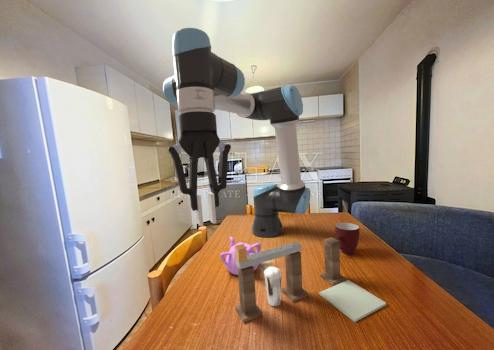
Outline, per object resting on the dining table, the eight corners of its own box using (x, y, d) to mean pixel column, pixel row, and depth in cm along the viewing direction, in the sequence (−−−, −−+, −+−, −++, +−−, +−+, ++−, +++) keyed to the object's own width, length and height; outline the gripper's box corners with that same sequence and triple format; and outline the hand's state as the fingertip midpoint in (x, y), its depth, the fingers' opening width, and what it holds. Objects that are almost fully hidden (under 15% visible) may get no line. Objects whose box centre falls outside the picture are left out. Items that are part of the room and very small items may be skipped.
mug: (349, 262, 73) (349, 233, 72) (327, 254, 79) (327, 228, 78) (363, 251, 80) (363, 225, 79) (342, 245, 86) (341, 221, 85)
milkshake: (261, 297, 58) (259, 262, 57) (280, 295, 59) (279, 260, 58) (264, 309, 54) (261, 271, 53) (285, 307, 54) (283, 269, 53)
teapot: (254, 281, 66) (253, 253, 65) (215, 274, 71) (213, 248, 70) (266, 261, 77) (264, 238, 76) (231, 257, 82) (229, 234, 81)
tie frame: (235, 309, 54) (232, 264, 53) (332, 272, 68) (331, 235, 67) (243, 322, 50) (240, 274, 49) (345, 280, 64) (344, 241, 62)
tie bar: (235, 264, 52) (234, 246, 52) (296, 247, 60) (295, 230, 59) (239, 269, 50) (238, 249, 50) (301, 250, 57) (301, 233, 57)
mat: (319, 294, 58) (319, 292, 58) (348, 281, 63) (348, 279, 63) (354, 322, 48) (354, 319, 48) (386, 305, 53) (386, 302, 53)
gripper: (159, 108, 38) (172, 236, 41) (238, 110, 45) (245, 220, 47) (157, 116, 45) (168, 225, 48) (226, 116, 51) (232, 213, 54)
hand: (206, 222), depth 47 cm, fingers open, 2 cm apart
